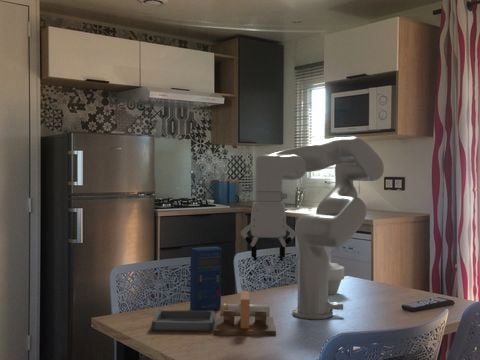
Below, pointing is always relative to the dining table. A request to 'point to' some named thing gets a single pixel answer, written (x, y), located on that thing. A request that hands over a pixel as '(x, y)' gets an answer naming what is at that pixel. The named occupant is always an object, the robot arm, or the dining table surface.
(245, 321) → the orange bracket
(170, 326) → the tray
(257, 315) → the cradle board
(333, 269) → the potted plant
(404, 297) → the dining table surface
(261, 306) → the yellow-tipped white cylinder
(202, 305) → the electronic device
